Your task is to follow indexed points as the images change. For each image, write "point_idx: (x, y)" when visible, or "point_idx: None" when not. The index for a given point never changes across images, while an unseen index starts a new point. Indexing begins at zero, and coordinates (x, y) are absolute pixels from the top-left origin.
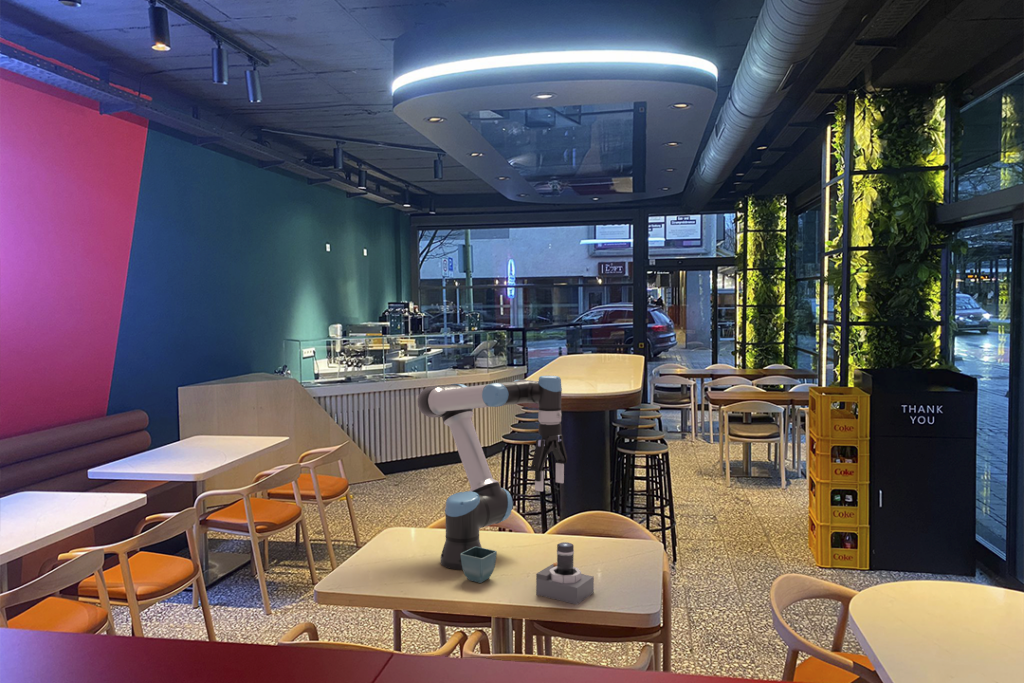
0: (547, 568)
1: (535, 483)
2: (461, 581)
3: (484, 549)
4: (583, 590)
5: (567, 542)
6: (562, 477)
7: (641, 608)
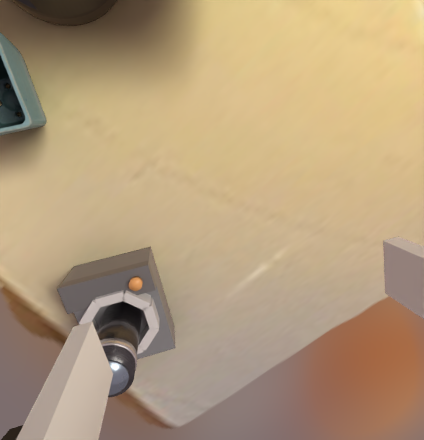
0: (106, 280)
1: (52, 376)
2: None
3: (7, 72)
4: None
5: (126, 370)
6: (421, 316)
7: (180, 410)
